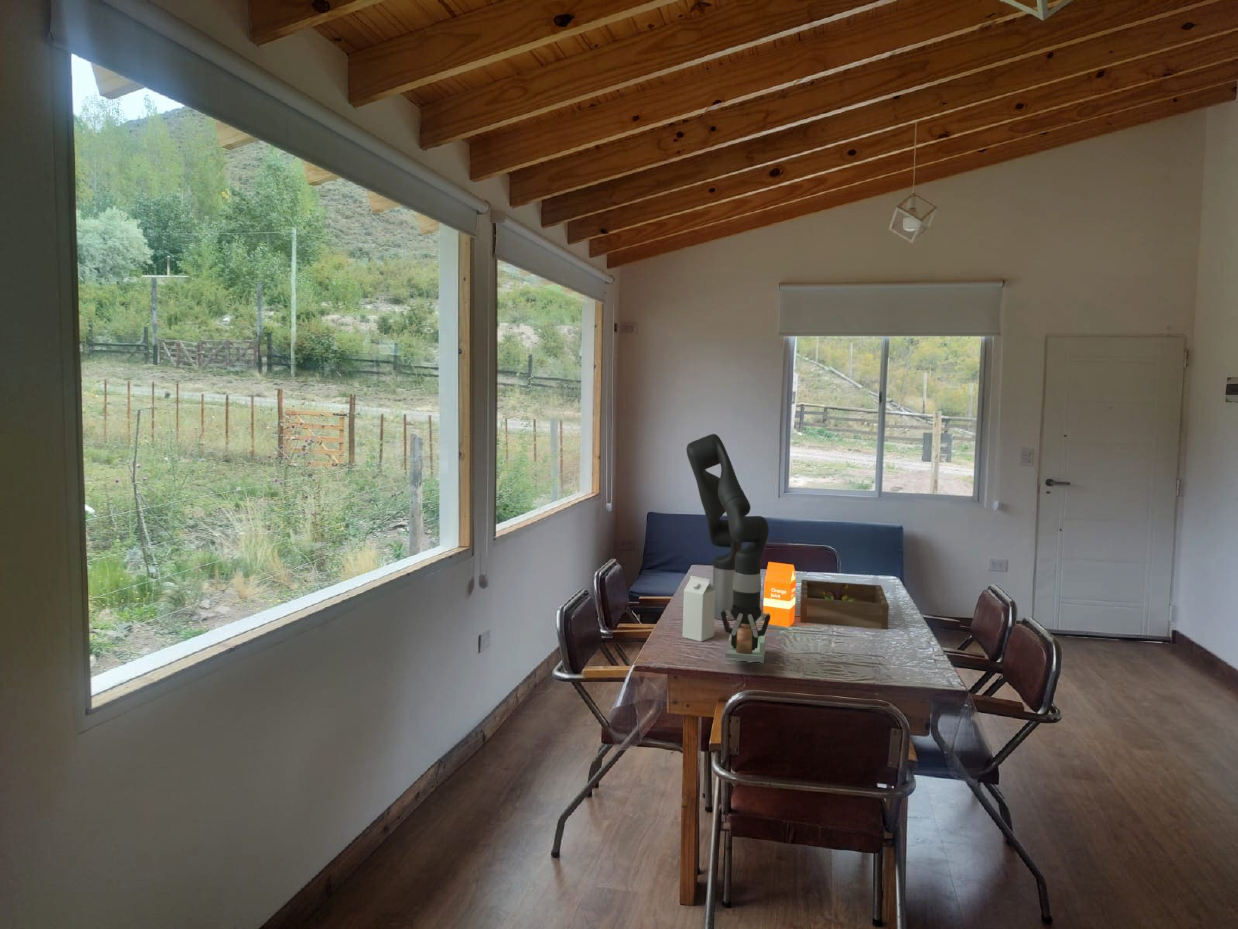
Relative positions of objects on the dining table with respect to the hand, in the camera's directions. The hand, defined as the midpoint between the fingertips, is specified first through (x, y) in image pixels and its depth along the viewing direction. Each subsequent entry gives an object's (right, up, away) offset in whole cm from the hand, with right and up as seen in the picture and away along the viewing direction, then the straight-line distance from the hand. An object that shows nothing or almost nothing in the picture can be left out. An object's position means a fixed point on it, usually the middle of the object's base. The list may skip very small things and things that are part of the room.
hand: (744, 648), depth 222 cm
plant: (+42, -2, +57) cm, 70 cm away
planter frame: (+43, -1, +57) cm, 71 cm away
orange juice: (+19, -2, +46) cm, 50 cm away
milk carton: (-10, -3, +28) cm, 30 cm away
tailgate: (+1, -3, +5) cm, 6 cm away
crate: (+2, -5, +11) cm, 13 cm away
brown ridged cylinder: (0, -1, 0) cm, 1 cm away
